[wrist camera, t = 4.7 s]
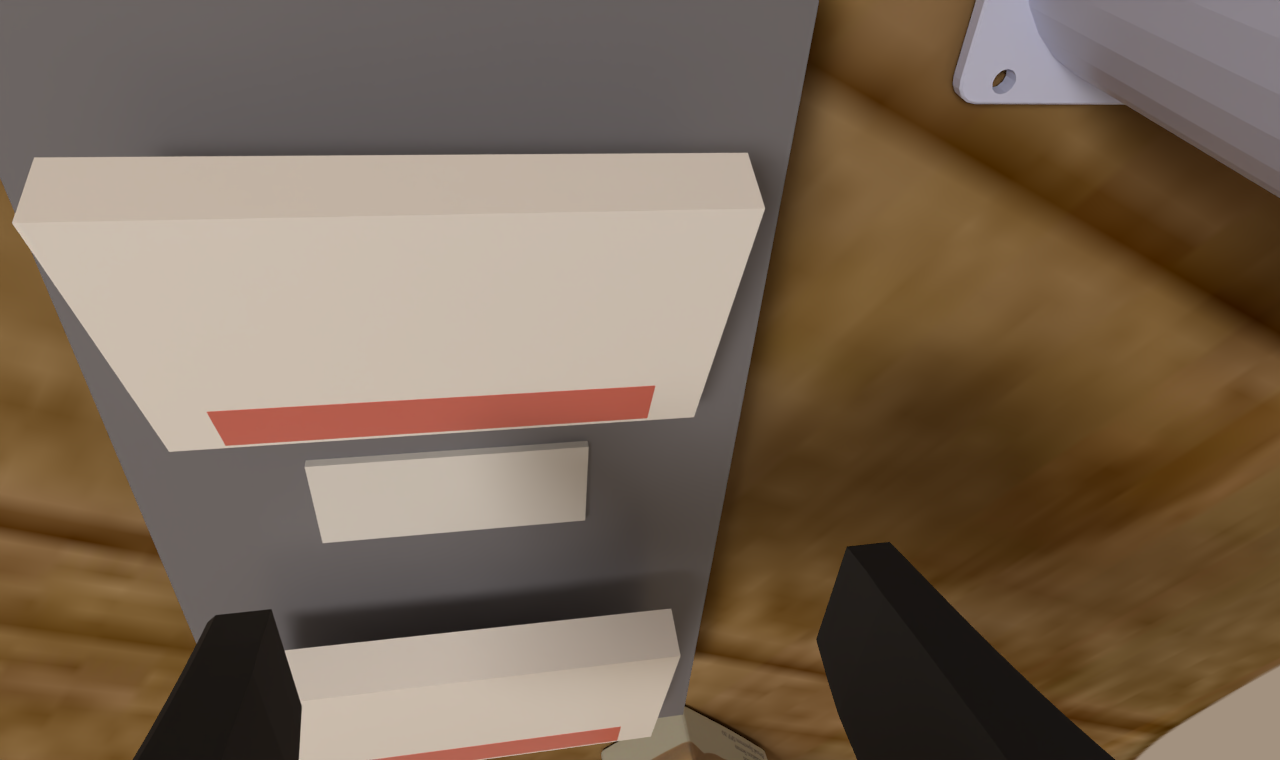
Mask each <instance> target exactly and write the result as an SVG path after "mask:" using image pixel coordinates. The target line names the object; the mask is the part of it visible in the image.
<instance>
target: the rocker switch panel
mask: <svg viewBox="0 0 1280 760" xmlns="http://www.w3.org/2000/svg"><path fill="white" fill-rule="evenodd" d="M818 4H819V0H0V178H1V181H2V183H3V185H4V188H5V190H6V193H7V195H8V197H9V200H10V202H11V204H12V207H13V209H14V212H15V213H16V210H17V207H18V204H19V201H20V198H21V195H22V192H23V189H24V186H25V183H26V180H27V177H28V174H29V171H30V168H31V165H32V162H33V159H34V157H182V156H331V155H481V154H631V153H748V155H749V158H750V162H751V165H752V168H753V171H754V174H755V177H756V181H757V184H758V187H759V190H760V193H761V197H762V200H763V203H764V206H765V210H764V213H763V216H762V219H761V222H760V225H759V228H758V231H757V234H756V237H755V240H754V243H753V246H752V249H751V251H750V254H749V257H748V260H747V263H746V266H745V269H744V272H743V275H742V278H741V281H740V284H739V287H738V290H737V292H736V295H735V298H734V301H733V304H732V307H731V310H730V313H729V316H728V319H727V322H726V325H725V328H724V331H723V333H722V336H721V339H720V342H719V345H718V348H717V351H716V354H715V357H714V360H713V363H712V366H711V369H710V372H709V374H708V377H707V380H706V383H705V386H704V389H703V392H702V395H701V398H700V401H699V404H698V407H697V410H696V413H695V415H694V417H690V418H674V419H659V420H644V421H629V422H614V423H599V424H584V425H568V426H553V427H538V428H523V429H508V430H493V431H477V432H462V433H447V434H432V435H417V436H402V437H386V438H371V439H356V440H341V441H326V442H311V443H296V444H280V445H265V446H250V447H235V448H220V449H205V450H189V451H174V452H169V451H168V449H167V448H166V446H165V445H164V444H163V442H162V441H161V439H160V438H159V436H158V435H157V433H156V432H155V430H154V429H153V428H152V426H151V425H150V423H149V422H148V420H147V419H146V417H145V416H144V414H143V413H142V411H141V410H140V409H139V407H138V406H137V404H136V403H135V401H134V400H133V398H132V397H131V395H130V394H129V393H128V391H127V390H126V388H125V387H124V385H123V384H122V382H121V381H120V379H119V378H118V377H117V375H116V374H115V372H114V371H113V369H112V368H111V366H110V365H109V363H108V362H107V361H106V359H105V358H104V356H103V355H102V353H101V352H100V350H99V349H98V347H97V346H96V344H95V343H94V342H93V340H92V339H91V337H90V336H89V334H88V333H87V331H86V330H85V328H84V327H83V326H82V324H81V323H80V321H79V320H78V318H77V317H76V315H75V314H74V312H73V311H72V310H71V308H70V307H69V305H68V304H67V302H66V301H65V299H64V298H63V296H62V295H61V294H60V292H59V291H58V289H57V288H56V286H55V285H54V283H53V282H52V280H51V279H50V278H49V276H48V275H47V273H46V272H45V270H44V269H43V267H42V266H41V264H40V263H39V261H38V260H37V259H36V257H35V256H34V254H33V253H32V254H33V257H34V259H35V261H36V264H37V266H38V269H39V271H40V273H41V276H42V278H43V280H44V283H45V285H46V288H47V290H48V292H49V295H50V297H51V299H52V302H53V304H54V306H55V309H56V311H57V314H58V316H59V318H60V321H61V323H62V325H63V328H64V330H65V333H66V335H67V337H68V340H69V342H70V344H71V347H72V349H73V352H74V354H75V356H76V359H77V361H78V363H79V366H80V368H81V371H82V373H83V375H84V378H85V380H86V382H87V385H88V387H89V390H90V392H91V394H92V397H93V399H94V401H95V404H96V406H97V409H98V411H99V413H100V416H101V418H102V420H103V423H104V425H105V428H106V430H107V432H108V435H109V437H110V439H111V442H112V444H113V447H114V449H115V451H116V454H117V456H118V458H119V461H120V463H121V465H122V468H123V470H124V473H125V475H126V477H127V480H128V482H129V484H130V487H131V489H132V492H133V494H134V496H135V499H136V501H137V503H138V506H139V508H140V511H141V513H142V515H143V518H144V520H145V522H146V525H147V527H148V530H149V532H150V534H151V537H152V539H153V541H154V544H155V546H156V549H157V551H158V553H159V556H160V558H161V560H162V563H163V565H164V568H165V570H166V572H167V575H168V577H169V579H170V582H171V584H172V587H173V589H174V591H175V594H176V596H177V598H178V601H179V603H180V605H181V608H182V610H183V613H184V615H185V617H186V620H187V622H188V624H189V627H190V629H191V632H192V634H193V636H194V639H195V641H196V643H197V642H198V640H199V638H200V636H201V634H202V632H203V630H204V628H205V626H206V624H207V622H208V621H210V620H211V619H212V618H213V617H214V616H215V615H221V614H230V613H239V612H249V611H258V610H267V609H272V612H273V615H274V619H275V622H276V625H277V628H278V631H279V635H280V638H281V641H282V644H283V647H284V650H293V649H302V648H311V647H321V646H330V645H339V644H348V643H357V642H367V641H376V640H385V639H394V638H404V637H413V636H422V635H431V634H441V633H450V632H459V631H468V630H477V629H487V628H496V627H505V626H514V625H524V624H533V623H542V622H551V621H560V620H570V619H579V618H588V617H597V616H607V615H616V614H625V613H634V612H644V611H653V610H662V609H671V610H672V615H673V620H674V625H675V630H676V635H677V640H678V645H679V650H680V655H681V656H680V659H679V662H678V664H677V667H676V670H675V672H674V675H673V678H672V681H671V683H670V686H669V689H668V691H667V694H666V697H665V700H664V702H663V705H662V708H661V710H660V713H659V716H658V718H662V717H669V716H677V715H683V712H684V707H685V701H686V696H687V691H688V686H689V680H690V675H691V670H692V665H693V659H694V654H695V649H696V644H697V638H698V633H699V628H700V623H701V617H702V612H703V607H704V602H705V596H706V591H707V586H708V581H709V575H710V570H711V565H712V560H713V554H714V549H715V544H716V539H717V533H718V528H719V523H720V518H721V512H722V507H723V502H724V497H725V492H726V486H727V481H728V476H729V471H730V465H731V460H732V455H733V450H734V444H735V439H736V434H737V429H738V423H739V418H740V413H741V408H742V402H743V397H744V392H745V387H746V381H747V376H748V371H749V366H750V360H751V355H752V350H753V345H754V339H755V334H756V329H757V324H758V318H759V313H760V308H761V303H762V297H763V292H764V287H765V282H766V276H767V271H768V266H769V261H770V256H771V250H772V245H773V240H774V235H775V229H776V224H777V219H778V214H779V208H780V203H781V198H782V193H783V187H784V182H785V177H786V172H787V166H788V161H789V156H790V151H791V145H792V140H793V135H794V130H795V124H796V119H797V114H798V109H799V103H800V98H801V93H802V88H803V82H804V77H805V72H806V67H807V61H808V56H809V51H810V46H811V40H812V35H813V30H814V25H815V19H816V14H817V9H818ZM31 252H32V251H31Z"/></svg>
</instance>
